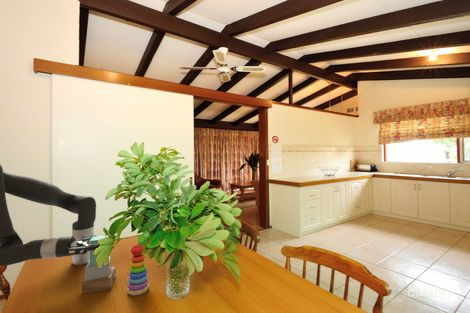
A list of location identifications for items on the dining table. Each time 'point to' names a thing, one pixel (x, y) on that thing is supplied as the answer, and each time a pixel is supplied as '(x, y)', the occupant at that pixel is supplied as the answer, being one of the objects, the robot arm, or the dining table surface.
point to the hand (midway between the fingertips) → (104, 242)
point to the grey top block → (97, 271)
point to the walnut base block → (99, 282)
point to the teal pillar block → (92, 256)
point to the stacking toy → (137, 272)
